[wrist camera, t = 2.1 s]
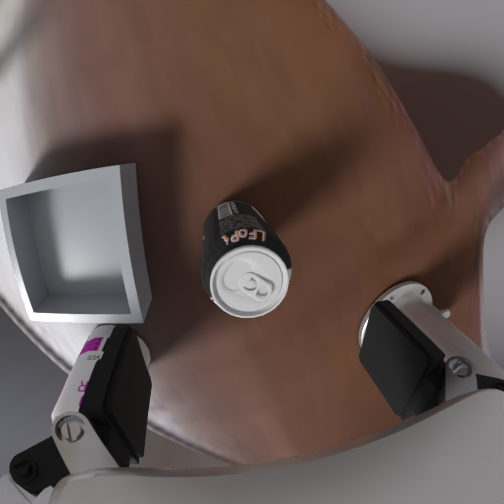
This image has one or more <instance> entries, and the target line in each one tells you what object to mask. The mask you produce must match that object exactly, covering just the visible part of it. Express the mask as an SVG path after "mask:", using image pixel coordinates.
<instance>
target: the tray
mask: <svg viewBox="0 0 504 504" xmlns="http://www.w3.org/2000/svg"><path fill="white" fill-rule="evenodd" d="M0 208H1V215H2V221H3V226H4V232H5V237H6V241H7V246H8V250H9V254H10V258H11V262H12V266H13V269H14V273H15V276H16V280H17V283H18V286H19V289H20V292H21V295H22V298H23V301H24V304H25V307H26V310H27V312H28V315H29V317H30V320H34V321H50V322H72V323H144V320H145V317H146V314H147V311H148V308H149V306H150V303H151V300H152V294H151V289H150V283H149V278H148V272H147V266H146V259H145V252H144V245H143V238H142V230H141V221H140V212H139V202H138V191H137V177H136V163H129V164H121V165H114V166H107V167H101V168H95V169H89V170H83V171H78V172H72V173H67V174H62V175H57V176H53V177H48V178H44V179H39V180H35V181H31V182H27V183H23V184H19V185H16V186H12V187H9V188H5V189H2V190H0Z"/></svg>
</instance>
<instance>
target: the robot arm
mask: <svg viewBox="0 0 504 504" xmlns="http://www.w3.org/2000/svg"><path fill="white" fill-rule="evenodd" d="M432 304H433V302H432V296H431V293H430V291H429V290H428V289H427V288H426V287H425V286H424V285H422V284H421V283H419V282H416V281H407V282H402V283H400V284H397V285H395V286H393V287H391V288H390V289H388V290H387V291H386V292H384V293H383V294H382V295H381V296H380V297H379V298H378V299H377V300H376V301H375V302H374V303H373V304H372V306H371V307H370V308H369V310H368V311H367V313H366V315H365V316H364V319H363V321H362V323H361V326H360V330H359V344H360V347H361V350H360V353H359V359H360V362H361V363H362V365H363V366H364V368H365V369H366V371H367V372H368V374H369V375H370V377H371V378H372V380H373V381H374V383H375V384H376V386H377V387H378V389H379V390H380V392H381V393H382V395H383V396H384V398H385V399H386V401H387V402H388V404H389V405H390V407H391V408H392V410H393V411H394V413H395V414H396V415H399V416H400V418H401V419H402V421H403V420H405V419H407V418H409V417H411V416H413V414H415V417H413V418H411V419H409V420H406V421H404V422H402V423H400V424H397V425H395V426H392V427H390V428H387V429H385V430H382V431H380V432H377V433H374V434H372V435H369V436H366V437H363V438H360V439H357V440H354V441H351V442H348V443H345V444H342V445H338V446H335V447H331V448H328V449H324V450H320V451H316V452H312V453H308V454H304V455H299V456H294V457H290V458H284V459H279V460H273V461H267V462H261V463H254V464H246V465H237V466H226V467H213V468H189V469H187V468H186V469H165V468H164V469H163V468H130V467H129V464H139V457H143V456H144V447H145V437H146V427H147V419H148V410H149V403H150V395H151V388H152V383H151V378H150V375H149V372H148V369H147V366H146V363H145V360H144V357H143V354H142V351H141V348H140V344H139V341H138V337H137V334H136V331H135V330H134V329H131V328H130V326H114V328H113V330H112V333H111V335H110V338H109V340H108V343H107V345H106V348H105V350H104V353H103V355H102V358H101V359H99V360H97V361H96V363H95V366H94V368H93V371H92V373H91V376H90V379H89V381H88V384H87V387H86V390H85V393H84V395H83V398H82V401H81V404H80V407H79V410H78V412H74V411H72V412H65V413H62V414H61V415H59V416H58V417H57V418H56V419H55V420H54V422H53V424H52V427H51V433H52V436H51V437H49V438H47V439H45V440H44V441H42V442H40V443H38V444H36V445H34V446H32V447H30V448H29V449H27V450H25V451H23V452H21V453H19V454H17V455H16V456H14V458H13V459H12V461H11V463H10V475H9V476H7V475H4V476H3V477H2V478H1V479H0V504H504V371H503V370H502V369H501V368H500V367H499V366H498V365H497V364H496V363H495V362H494V361H493V360H492V359H491V358H489V357H488V356H487V355H486V354H485V353H484V352H483V351H482V350H481V349H480V348H479V347H478V346H477V345H475V344H474V343H473V342H472V341H471V340H470V339H469V338H468V337H467V336H465V335H464V334H463V333H462V332H461V331H460V330H459V329H458V328H456V327H455V326H454V325H453V324H452V323H451V322H450V321H449V320H447V319H446V318H448V317H449V316H450V311H449V309H444V310H441V311H439V310H438V309H437V308H436V307H435V306H433V305H432Z"/></svg>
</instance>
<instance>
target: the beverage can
mask: <svg viewBox="0 0 504 504" xmlns="http://www.w3.org/2000/svg"><path fill="white" fill-rule="evenodd" d="M200 275H201V282H202V285H203V287H204V290H205V291H206V293H207V294H208V296H209V297H210V298H211V299H212V301H213V302H214V303H216V304H217V305H218V306H219V307H220V308H221V309H222V310H224V311H225V312H227V313H228V314H231V315H233V316H237V317H241V318H252V317H258V316H261V315H264V314H266V313H268V312H270V311H271V310H273V309H274V308H276V307H277V306H278V305H279V304H280V303H281V301H282V300H283V298H284V297H285V295H286V292H287V290H288V285H289V282H290V278H291V260H290V256H289V253H288V251H287V249H286V247H285V246H284V244H283V243H282V242H281V240H280V239H279V238H278V236H277V235H276V234H275V232H274V231H273V230H272V229H271V227H270V226H269V225H268V224H267V222H266V221H265V220H264V218H263V217H262V216H261V215H260V213H259V212H258V211H257V210H256V209H255V208H254V207H253V206H251V205H249V204H247V203H244V202H241V201H228V202H225V203H222V204H220V205H218V206H217V207H215V208H214V209H213V210H212V211H211V212H210V213H209V215H208V217H207V218H206V221H205V224H204V230H203V241H202V253H201V265H200Z"/></svg>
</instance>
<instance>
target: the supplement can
mask: <svg viewBox="0 0 504 504" xmlns="http://www.w3.org/2000/svg"><path fill="white" fill-rule="evenodd" d="M114 326H116V325H101V326H99V327H97V328H96V329H94V330H93V331H92V332H91V334H90V335H89V337H88V339H87V341H86V343H85V345H84V347H83V349H82V350H81V352H80V354H79V356H78V358H77V360H76V362H75V364H74V366H73V368H72V370H71V373H70V375H69V377H68V379H67V381H66V383H65V385H64V388H63V390H62V392H61V394H60V397H59V399H58V401H57V403H56V406H55V408H54V410H53V413H52V415H51V416H52V422H54V420H55V419H56V418H57V417H58V416H59V415H61V414H62V413H65V412H72V411H74V412H78V410H79V407H80V404H81V401H82V398H83V395H84V393H85V390H86V387H87V384H88V381H89V379H90V376H91V373H92V371H93V368H94V366H95V363H96V361H97V360H99V359H101V358H102V355H103V353H104V350H105V348H106V345H107V343H108V340H109V338H110V335H111V333H112V330H113V328H114ZM137 337H138V336H137ZM138 341H139V344H140V348H141V351H142V354H143V357H144V360H145V363H146V366H147V369H149V364H150V360H151V358H150V353H149V349H148V348H147V346H146V345H145V343H144V341H143V340H142V339H141V338H139V337H138Z"/></svg>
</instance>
